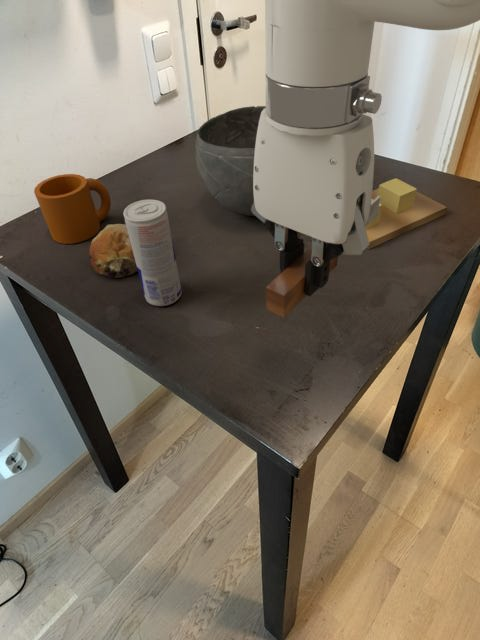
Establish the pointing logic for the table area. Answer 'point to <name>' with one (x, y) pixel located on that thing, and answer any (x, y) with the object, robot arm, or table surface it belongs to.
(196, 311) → the table surface
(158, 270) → the beverage can
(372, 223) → the butter piece
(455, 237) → the table surface
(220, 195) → the bowl
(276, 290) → the knife
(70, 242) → the mug
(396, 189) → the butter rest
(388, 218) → the board
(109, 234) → the bread roll
